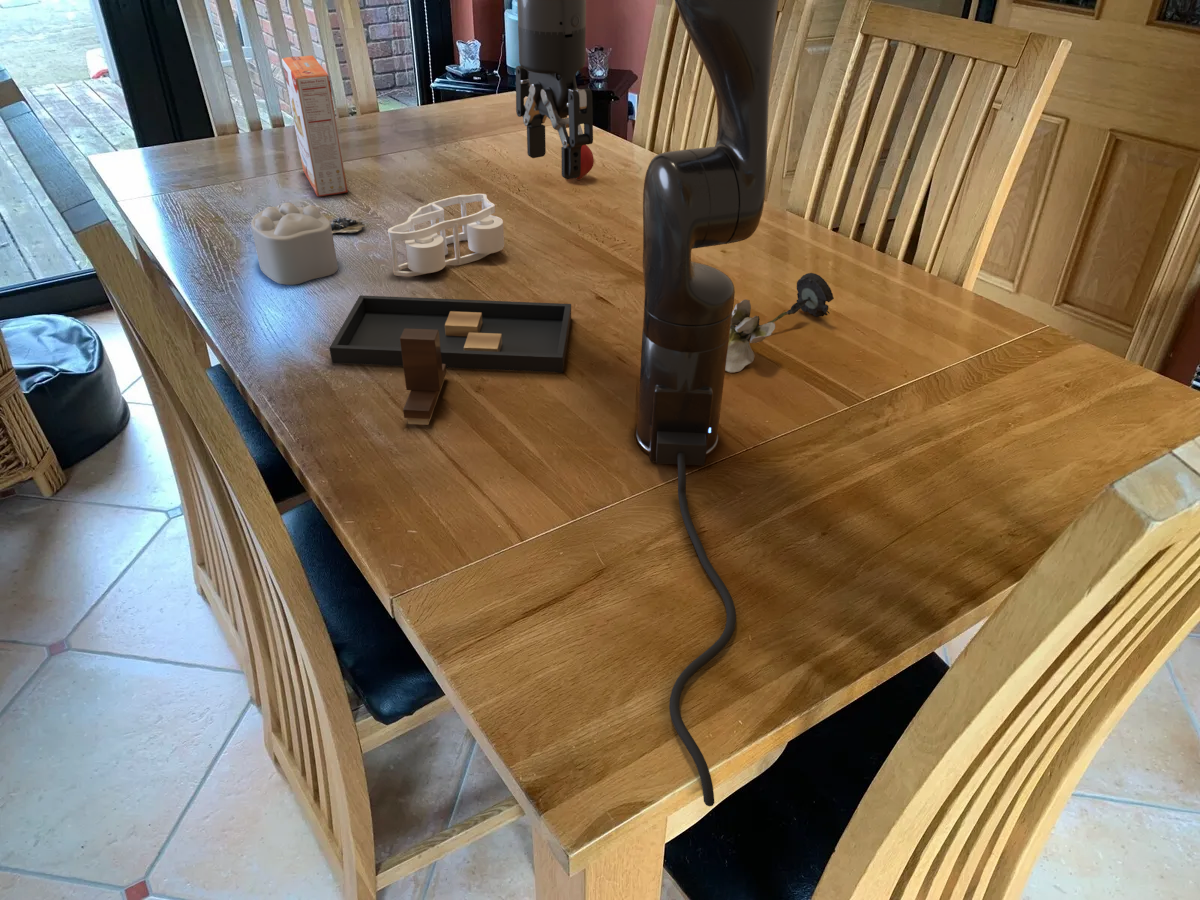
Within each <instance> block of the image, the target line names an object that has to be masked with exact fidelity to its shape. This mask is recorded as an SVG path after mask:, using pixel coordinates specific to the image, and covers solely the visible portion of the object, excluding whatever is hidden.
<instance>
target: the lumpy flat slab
mask: <svg viewBox="0 0 1200 900" xmlns="http://www.w3.org/2000/svg"><path fill="white" fill-rule="evenodd" d="M330 223H331V229H332V234H336V233H347V234H355V233H358V232H359V231H362V230H363V227H366V224H365V223H364V221H363V218H352V217H351V218H350V217H341V216H340V217H337V218H335V219H333V220H332V221H330Z"/></svg>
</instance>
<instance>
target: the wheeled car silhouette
mask: <svg viewBox="0 0 1200 900" xmlns="http://www.w3.org/2000/svg"><path fill="white" fill-rule="evenodd" d="M477 202H481V210H479V211H477V212H475V213H472V214H469V215H468V214H467V204H470V203H471V204H472V203H477ZM454 205H460V212H461V213H460V214H461V216H460V217H458V218H457V217H456V218H453V219H448V220H447V219H446V220H445V209H444V208H446V207H450V206H454ZM495 213H496V205H495V203H493V202H492V201H490V200H489V199H488V195H487V194H486V193H473V194H459V195H454V196H449V197H447V198H443V199H439V200H435V201H433V202H430V203H427V204H425V205H423V206H419V207H418V208H417V209H416V211H414V212H413V213H411V214H410V215H408V218H407V220H406V221H404V222H402V223H399V224H396V225H394V226H391V227H390V228H388V229H387V234H388V239H389V244H390V245H389V246H390V253H391V262H392V268H393V269H392V272H393V275H394V276H396V277H397V276H398V277H415V276H421V275H426V274H431V273H436V272H439V271H441V270H443V269H444V268H445V267H446V266H461V265H466V264H470V263H473V262H475V261H479V260H481V259H484V258H485V257H487V256H488V255H490V254H494V253H498V252H501V251H502V250H503V249H504V247H505V235H504V233H505V232H504V220H503V219H502V218H501V217H499V216H497V215H493V214H495ZM437 219H438V222H437ZM427 222H430V225H429V226H428V227H425V228H421V229H417V230H416V227H415V226H416V225H420V224H424V223H427ZM459 227H461V228H462V232H459ZM449 229H452V234H451V235H447V233H446V230H449ZM439 233H440V234H439ZM396 241H399V242H400V241H401V242H404V243H405V245H404V246H405V252H406V253H405V254H406V260H407V261H406V262H404V263H401V264H399V260H398V259H399V258H398V251H397V244H396V243H397V242H396ZM461 241H467V248H468V250H470V251H471V252H473V253H469V254H466V255H465V254H464V255H463V256H461V247H460V242H461ZM449 244H453V249H454V258H449V259H446V256H447V255H448V254H449V249H448V246H447V245H449ZM404 269H408V270H410V271H404Z"/></svg>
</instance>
